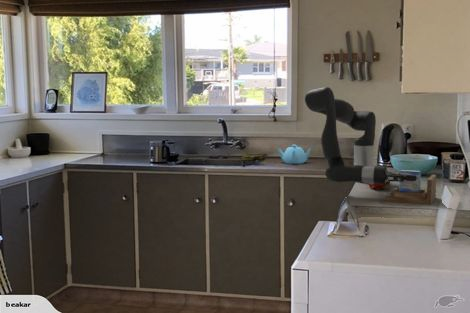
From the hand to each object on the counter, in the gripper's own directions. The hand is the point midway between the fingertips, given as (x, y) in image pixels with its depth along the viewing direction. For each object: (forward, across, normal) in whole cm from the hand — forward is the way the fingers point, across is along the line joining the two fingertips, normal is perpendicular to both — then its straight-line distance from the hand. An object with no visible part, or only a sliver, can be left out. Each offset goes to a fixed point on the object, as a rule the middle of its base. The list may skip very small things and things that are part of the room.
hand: (416, 177), depth 243 cm
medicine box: (-3, 0, +6) cm, 7 cm away
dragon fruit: (-19, +20, +10) cm, 30 cm away
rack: (-2, 0, +9) cm, 9 cm away
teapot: (-84, +88, +10) cm, 122 cm away
